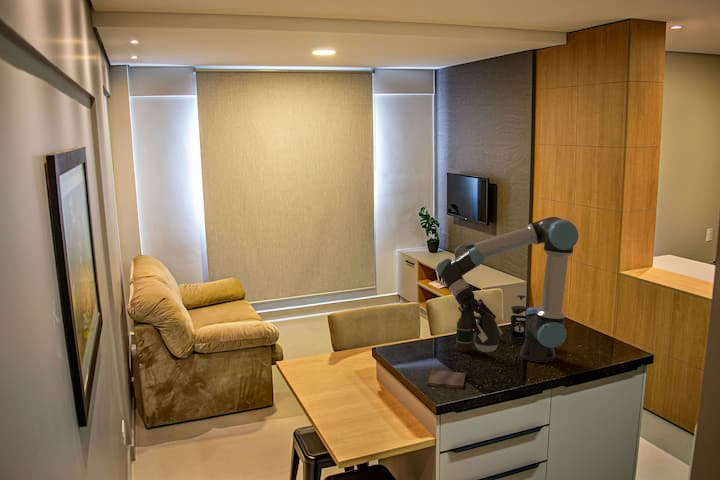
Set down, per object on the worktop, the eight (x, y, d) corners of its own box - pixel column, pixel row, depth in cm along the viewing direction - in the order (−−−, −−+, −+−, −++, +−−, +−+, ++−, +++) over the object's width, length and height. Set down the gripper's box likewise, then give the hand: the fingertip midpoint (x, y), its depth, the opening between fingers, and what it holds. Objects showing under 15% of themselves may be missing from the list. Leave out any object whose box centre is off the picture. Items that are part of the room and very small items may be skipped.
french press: (534, 343, 294) (536, 297, 290) (517, 345, 291) (519, 299, 287) (519, 336, 305) (521, 292, 301) (503, 338, 302) (505, 293, 298)
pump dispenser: (469, 346, 250) (471, 310, 248) (494, 345, 251) (495, 310, 248) (476, 354, 240) (477, 317, 238) (502, 354, 241) (503, 317, 238)
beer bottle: (454, 351, 282) (455, 301, 279) (457, 346, 289) (459, 297, 286) (470, 353, 279) (472, 303, 276) (474, 348, 287) (475, 299, 283)
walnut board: (465, 375, 252) (465, 373, 252) (462, 388, 239) (463, 385, 238) (431, 372, 255) (432, 370, 255) (427, 385, 242) (427, 382, 242)
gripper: (472, 293, 261) (502, 336, 252) (439, 301, 246) (470, 348, 237) (483, 283, 256) (514, 327, 247) (450, 291, 241) (482, 338, 232)
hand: (492, 337), depth 242 cm, fingers closed on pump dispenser, 9 cm apart
